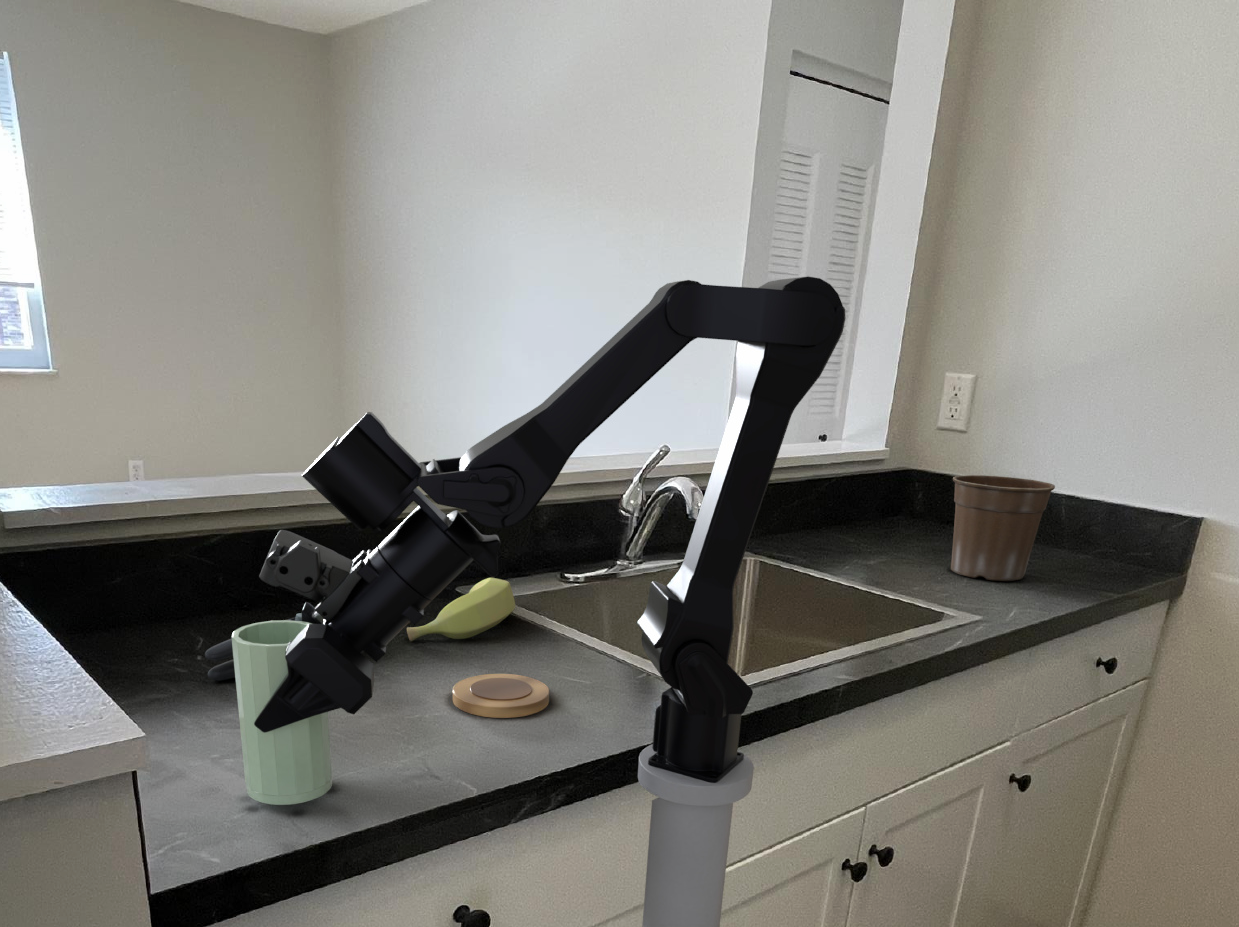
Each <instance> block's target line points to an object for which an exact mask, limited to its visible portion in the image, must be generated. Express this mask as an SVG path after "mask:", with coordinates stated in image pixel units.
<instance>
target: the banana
mask: <svg viewBox="0 0 1239 927" xmlns="http://www.w3.org/2000/svg"><path fill="white" fill-rule="evenodd" d="M515 601H516V600H515V596H514V593H513V589H512V586H511V583H510V582H509V581H507V580H504V579H501V578H495V577H486V578H485V579H482V580H480V581H479V582H477V583H475V584H474V585H473V586H472V587H471V589H470V590H469V591H468V593H466V594H463V595H461V596H460V597H458V598H456V599H454V600H452V601H451V602H449V603H447V605H446V606H444V607H443V608H442V609H441V610H440V612H439V613H438V614H437V616H436V618H435V619H434V620H432V621H430V622H429V623H427V624H425V625H421V626H414V627H411V626H410V627H409V626H407V627H406V633H407V636H408V639H409V641H410V642H413V641H416V639H418V638H421V637H423V636H426V635H433V634H434V635H435V634H437V635H442V636H443V637H446V638H449V639H451V640H452V639H453V640H465V639H469V638H472V637H475V636H477V635H479V634H481V633H484V632H485V631H488V630H489V629H492V628H494V627H496V626H498V625H499V624H500V623H501V622H502V621H504V620H505V619H506V618H507V617H509V616H510V615H511V614H512V613H513V612H514V610H515V608H516V602H515Z"/></svg>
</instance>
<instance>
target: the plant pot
mask: <svg viewBox="0 0 1239 927" xmlns="http://www.w3.org/2000/svg"><path fill="white" fill-rule="evenodd" d="M952 481H953V483H954V493H953V494H954V496H953V502H954V503H955V509H954V520H953V521H954V522H953V523H954V524H953V525H954V526H953V536H952V550H951V561H950V570H951V571H952V572H954V573H955V574H957V575H960V576H963V577H967V578H968V577H969V578H972V579H977V578H979V577H981V578H985V580H987V581H997V582H998V581H999V582H1013V581H1019V580H1022V579H1023V578H1024V577H1025V575H1026V571H1027V568H1028V564H1029V561H1030V558H1031V554H1032V550H1033V547H1034V543H1035V540H1036V536H1037V533H1038V530H1039V527H1040V523H1041V519H1042V516H1043V514H1044V511H1045V510H1046V509H1047V506H1048V503H1049V500H1050V497H1051V494H1052V491H1054V490H1055V488H1056V485H1055V484H1052V483H1050V482H1045V481H1042V480H1035V479H1029V478H1021V477H1011V476H1001V475H1000V476H999V475H983V474H981V475H980V474H977V475H976V474H968V475H967V474H966V475H955V476H953V477H952Z"/></svg>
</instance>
